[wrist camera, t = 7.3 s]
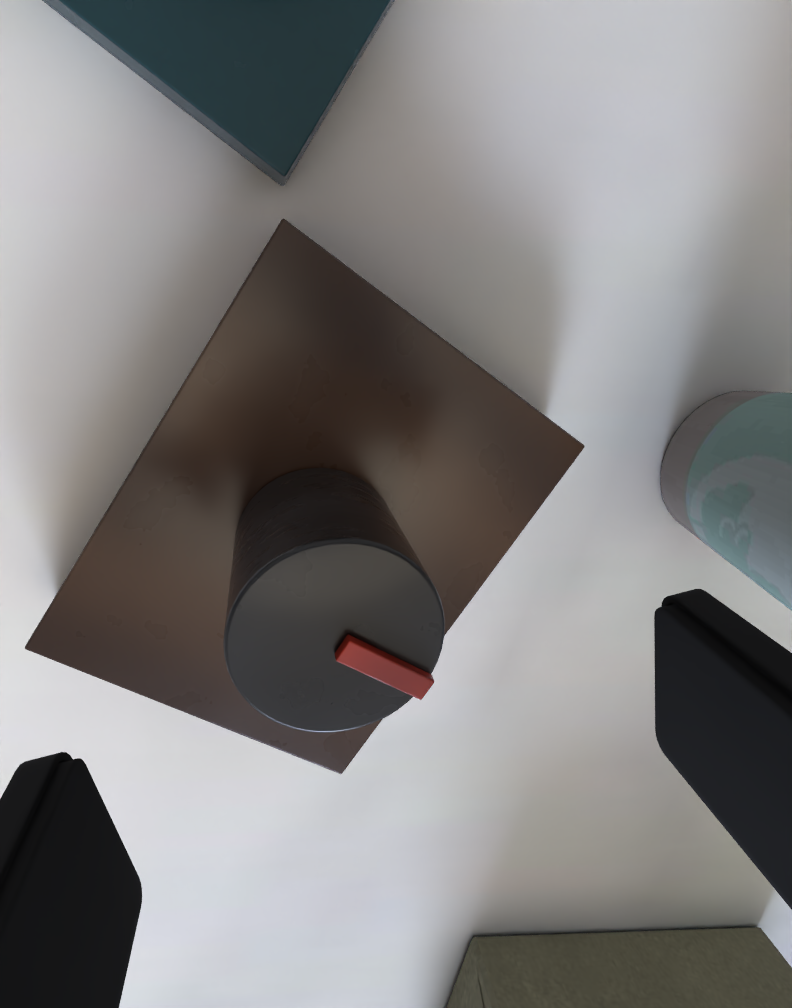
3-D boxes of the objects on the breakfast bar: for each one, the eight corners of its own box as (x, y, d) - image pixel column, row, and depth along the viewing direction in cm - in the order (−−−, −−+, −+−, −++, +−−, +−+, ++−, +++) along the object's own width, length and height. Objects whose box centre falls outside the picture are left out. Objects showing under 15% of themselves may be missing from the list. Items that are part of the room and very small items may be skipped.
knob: (203, 572, 18) (177, 695, 12) (290, 435, 17) (303, 502, 11) (341, 638, 19) (371, 771, 14) (425, 516, 18) (492, 608, 13)
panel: (279, 229, 18) (282, 217, 15) (544, 426, 22) (585, 446, 19) (56, 599, 20) (23, 649, 17) (332, 719, 24) (341, 775, 21)
